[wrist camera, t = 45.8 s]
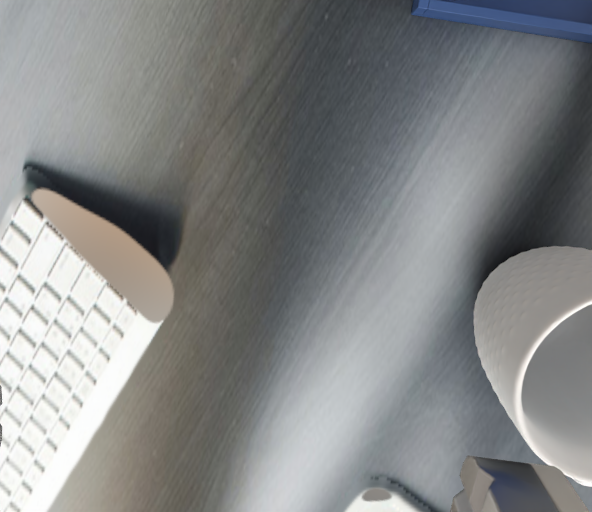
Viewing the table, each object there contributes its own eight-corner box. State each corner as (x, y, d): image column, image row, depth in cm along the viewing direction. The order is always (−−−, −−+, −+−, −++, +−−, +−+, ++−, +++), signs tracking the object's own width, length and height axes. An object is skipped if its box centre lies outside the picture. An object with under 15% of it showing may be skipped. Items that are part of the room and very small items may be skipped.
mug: (612, 402, 40) (744, 535, 28) (465, 423, 42) (529, 561, 29) (603, 211, 37) (751, 265, 24) (441, 240, 38) (502, 306, 25)
